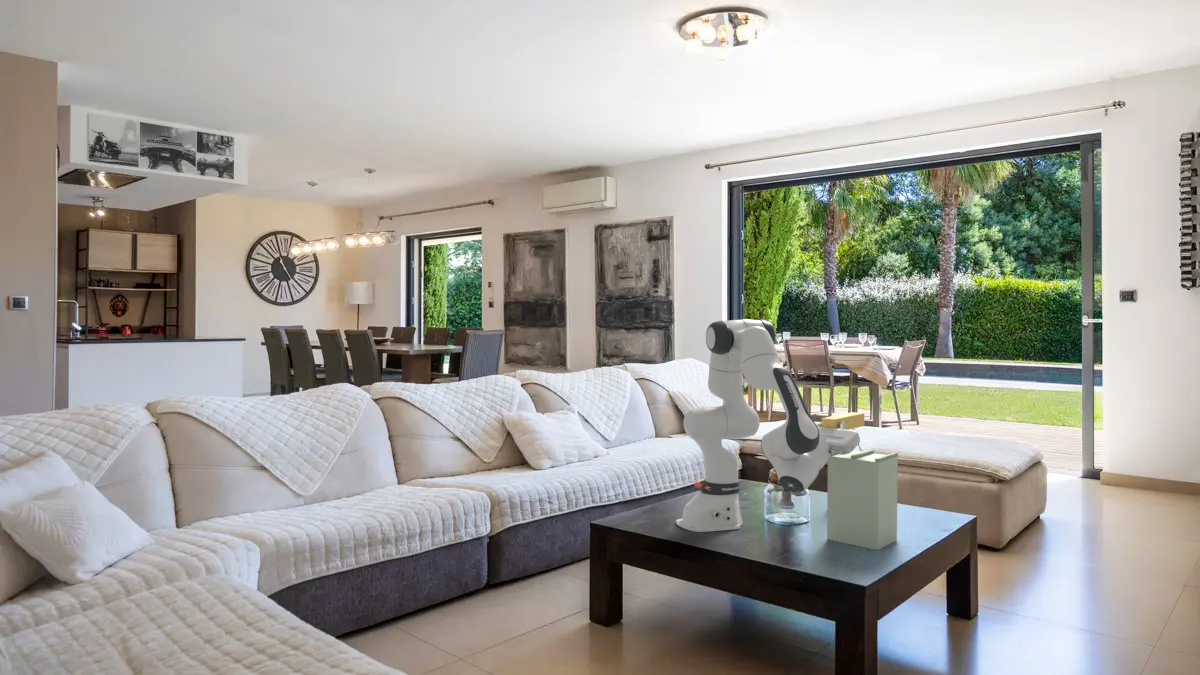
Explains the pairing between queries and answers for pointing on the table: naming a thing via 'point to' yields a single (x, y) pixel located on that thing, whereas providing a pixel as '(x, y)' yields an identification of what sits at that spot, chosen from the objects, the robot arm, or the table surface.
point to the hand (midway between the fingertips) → (834, 422)
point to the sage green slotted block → (862, 499)
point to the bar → (844, 420)
